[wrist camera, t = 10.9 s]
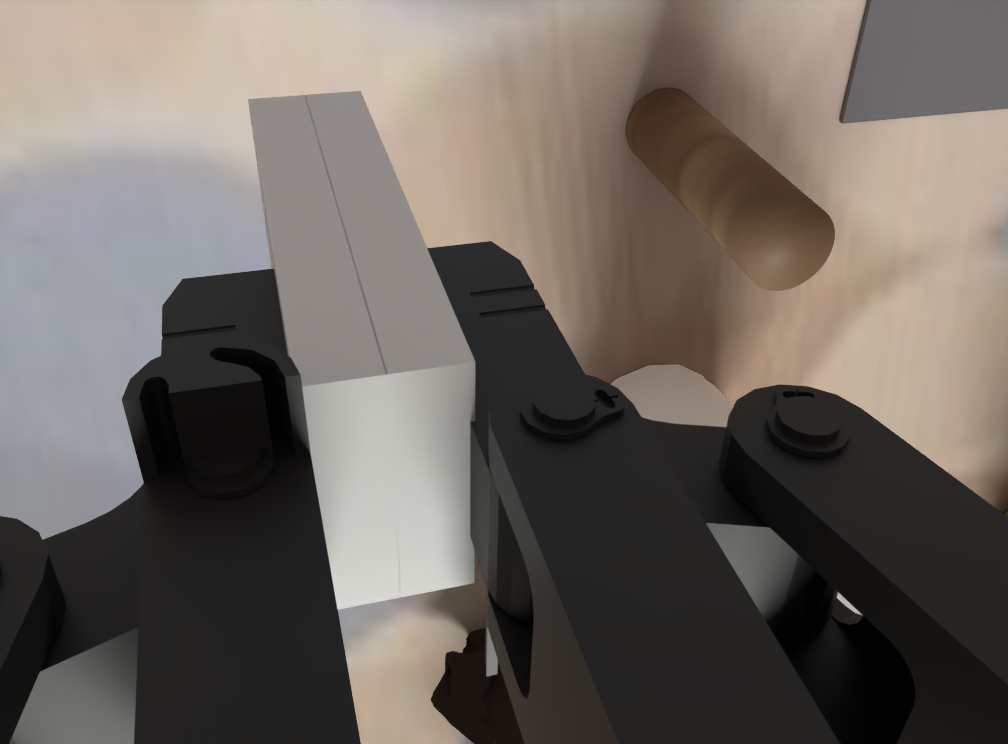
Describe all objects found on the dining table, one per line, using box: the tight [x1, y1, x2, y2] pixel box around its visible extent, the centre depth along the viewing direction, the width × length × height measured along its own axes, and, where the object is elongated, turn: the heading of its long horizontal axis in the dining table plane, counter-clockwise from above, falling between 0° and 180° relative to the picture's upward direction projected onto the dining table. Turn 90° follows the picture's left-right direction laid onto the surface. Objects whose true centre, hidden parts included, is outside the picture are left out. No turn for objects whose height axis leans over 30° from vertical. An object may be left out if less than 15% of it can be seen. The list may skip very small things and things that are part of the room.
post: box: [626, 88, 835, 291], centre depth 30 cm, size 3×3×9 cm
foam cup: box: [610, 364, 862, 615], centre depth 36 cm, size 10×9×13 cm
